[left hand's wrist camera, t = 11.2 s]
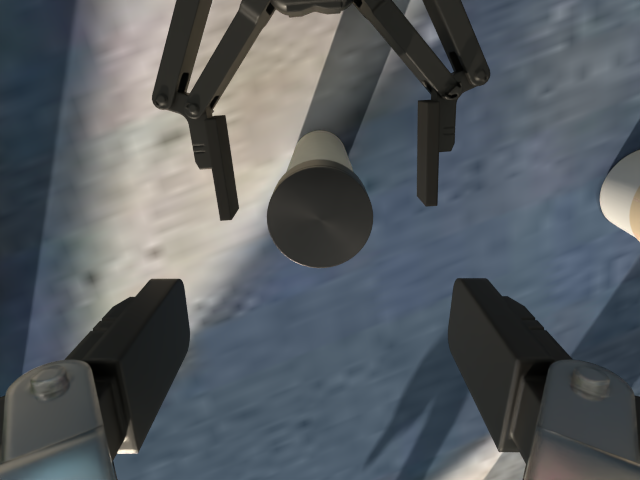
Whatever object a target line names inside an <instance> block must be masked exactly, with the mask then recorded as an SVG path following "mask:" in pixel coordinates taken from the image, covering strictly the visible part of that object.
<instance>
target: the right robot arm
mask: <svg viewBox="0 0 640 480" xmlns="http://www.w3.org/2000/svg"><path fill="white" fill-rule="evenodd" d="M423 2H424V5H425V7H426V9H427V11H428V14H429V16H430V18H431V20H432V23H433V25H434V27H435V29H436V32H437V34H438V36H439V38H440V41H441V43H442V45H443V47H444V50H445V52H446V54H447V56H448V59H449V61H450V63H451V65H452V68H453V70H454V72H453V73H450V72H449V71H448V69H447V68H446V67H445V66H444V64H443V63H442V62H441V61H440V59H439V58H438V57H437V56H436V55H435V53H434V52H433V51H432V50H431V48H430V47H429V46H428V45H427V43H426V42H425V41H424V40H423V38H422V37H421V36H420V35H419V33H418V32H417V31H416V30H415V28H414V27H413V26H412V25H411V24H410V22H409V21H408V20H407V19H406V17H405V16H404V15H403V14H402V12H401V11H400V10H399V9H398V7H397V6H396V5H395V4H394V2H393V1H392V0H242V2H241V4H240V8H239V10H238V12H237V14H236V16H235V17H234V19H233V21H232V23H231V24H230V26H229V28H228V29H227V31H226V33H225V35H224V36H223V38H222V40H221V41H220V43H219V45H218V46H217V48H216V50H215V52H214V53H213V55H212V57H211V58H210V60H209V62H208V64H207V65H206V67H205V69H204V70H203V72H202V74H201V76H200V77H199V79H198V81H197V82H196V84H195V86H194V87H193V89H192V91H191V93H187V88H188V85H189V81H190V78H191V74H192V71H193V67H194V63H195V60H196V56H197V53H198V49H199V46H200V42H201V39H202V35H203V32H204V28H205V24H206V21H207V17H208V14H209V10H210V7H211V3H212V0H176V4H175V8H174V12H173V16H172V20H171V24H170V28H169V32H168V36H167V40H166V44H165V47H164V51H163V55H162V59H161V63H160V67H159V71H158V75H157V79H156V83H155V87H154V91H153V95H152V101H153V104H154V105H155V106H156V107H157V108H159V109H161V110H169V111H172V112H176V113H179V114H181V115H183V116H184V117H185V118H186V119H187V121H188V124H189V128H190V134H191V140H192V145H193V151H194V156H195V162H196V164H197V165H198V167H199V169H212V173H213V179H214V185H215V191H216V197H217V203H218V209H219V215H220V221H223V220H232V218H233V217H234V215H235V214H236V212H237V211H238V209H239V205H238V198H237V192H236V185H235V178H234V171H233V164H232V157H231V151H230V144H229V137H228V130H227V123H226V116H225V115H221V116H213V117H212V113H213V112H214V111H213V109H214V107H215V105H216V104H217V102H218V100H219V99H220V97H221V95H222V94H223V92H224V91H225V89H226V87H227V86H228V84H229V82H230V81H231V79H232V77H233V76H234V74H235V73H236V71H237V69H238V68H239V66H240V64H241V63H242V61H243V60H244V58H245V56H246V55H247V53H248V51H249V50H250V48H251V46H252V45H253V43H254V42H255V40H256V38H257V37H258V35H259V33H260V32H261V30H262V29H263V28H264V27H265V25H266V24H267V23H268V21H269V20H270V18H271V16H272V15H273V13H274V11H275V10H276V9H277V10H278V11H279V12H281V13H282V14H285V15H289V17H300V16H304V15H307V14H309V13H312V12H319V13H324V14H337V13H340V12H341V11H343V10H345V9H346V8H348V7H349V6H350V5H351V4H352V3H353V4H354V5H355V6H356V8H357V9H358V10H359V11H360V12H361V14H362V15H363V16H364V17H365V18H367V19H368V20H369V21H370V22H371V23H372V25H373V26H374V27H375V28H376V29H377V31H378V32H379V33H380V34H381V35H382V37H383V38H384V39H385V40H386V41H387V43H388V44H389V45H390V46H391V47H392V49H393V50H394V51H395V52H396V53H397V55H398V56H399V57H400V58H401V59H402V60H403V62H404V63H405V64H406V65H407V66H408V68H409V69H410V70H411V71H412V72H413V74H414V75H415V76H416V77H417V78H418V80H419V81H420V82H421V83H422V84H423V86H424V87H425V88H426V89H427V90H428V92H429V93H430V94H431V100H420V101H418V145H417V197H418V198H419V199H420V200H421V201H422V202H423V204H424V205H425V206H437V201H438V166H439V152H447V151H451V150H452V148H453V145H454V143H455V119H456V102H457V99H458V98H459V97H460V96H461V94H462V93H464V92H465V91H467V90H470V89H472V88H474V87H476V86H481V85H484V84H485V83H486V82H487V81H488V80H489V78H490V69H489V67H488V65H487V62H486V60H485V57H484V55H483V53H482V50H481V48H480V45H479V43H478V41H477V38H476V36H475V33H474V31H473V29H472V26H471V24H470V21H469V19H468V16H467V14H466V12H465V9H464V7H463V4H462V2H461V0H423Z"/></svg>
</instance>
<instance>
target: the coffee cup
mask: <svg viewBox="0 0 640 480" xmlns="http://www.w3.org/2000/svg"><path fill="white" fill-rule="evenodd" d="M600 205H601V209H602V212H603V214H604V215H605V217H606V218H607V219H608V220H609V221H610V222H612V223H613V224H615V225H616V226H618V227H620V228H621V229H623V230H624V231H626V232H628V233H629V234H631V235H632V236H634V237H636V238H637V239H638V241H639V242H640V150H638V151H635V152H633V153H631V154H629V155H628V156H626V157H625V158H623V159H622V160H621V161H619V162H618V163H617V164H616V165H615V166H614V167H613V168H612V170H611V171H610V172H609V174H608V175H607V177H606V179H605V181H604V183H603V185H602V189H601V193H600Z"/></svg>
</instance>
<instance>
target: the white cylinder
mask: <svg viewBox="0 0 640 480" xmlns="http://www.w3.org/2000/svg"><path fill="white" fill-rule="evenodd" d="M316 159H324V160H331V161H335V162H338V163H340V164H342V165H344V166H346V167H348V168H349V169H350V170H351V171H353V169H352V166H351V164H350V161H349V158H348V155H347V153H346V150H345V147H344V145H343V143H342V142H341V140H340V139H339V138H338V137H337V136H335V135H334V134H332V133H330V132H327V131H322V130H318V131H313V132H310V133H308V134H306V135H305V136H303V137H302V138H301V139H300V140H299V142H298V143H297V145H296V147H295V150H294V153H293V156H292V158H291V161H290V164H289V166H288V169H287V171H289V170H290V169H291V168H293V167H294V166H296V165H298V164H300V163H302V162H305V161H309V160H316Z"/></svg>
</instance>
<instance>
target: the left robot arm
mask: <svg viewBox="0 0 640 480" xmlns="http://www.w3.org/2000/svg"><path fill="white" fill-rule="evenodd" d="M189 341H190V328H189V320H188V312H187V305H186V297H185V289H184V284H183V282H182V280H181V279H151V280H149V282H148V283H147V284H146V285H145V286H144V287H143V289H142V290H141V291H140V292H139V293H138V294H137V296H136V297H129V298H127V299H126V300H124V301H122V302H120V303H119V304H117V305H115V306H114V307H112V308H111V310H110V311H109V312H108V313H107V314H106V315H105V316H104V317H103V318H102V321H100V322H99V323H98V324H97V325H96V326H95V327H94V328H93V331H90V332H89V334H88V335H87V336H86V337H85V338H84V339H83V340H82V341H81V342H80V343H79V344H78V346H77V347H76V348H75V349H74V350H73V351H72V352H71V353H70V354H69V355H68V356H67V358H66V359H65V360H60V361H55V362H51V363H47V364H44V365H42V366H39V367H37V368H35V369H33V370H31V371H29V372H27V373H25V374H24V375H22V376H21V377H19V378H18V379H17V380H16V381H15V382H14V383H12V385H11V386H10V387H9V388H8V390H7V392H6V396H3V397H0V480H117V476H116V471H115V467H114V463H113V460H114V458H115V456H116V454H117V453H138V452H139V450H140V448H141V446H142V444H143V442H144V440H145V438H146V436H147V434H148V432H149V429H150V427H151V425H152V423H153V421H154V419H155V417H156V415H157V413H158V411H159V409H160V407H161V405H162V403H163V401H164V399H165V397H166V395H167V393H168V391H169V389H170V387H171V384H172V382H173V380H174V378H175V376H176V374H177V372H178V370H179V368H180V366H181V364H182V362H183V360H184V358H185V356H186V354H187V351H188V347H189ZM448 342H449V347H450V351H451V354H452V356H453V358H454V360H455V362H456V364H457V366H458V368H459V370H460V372H461V374H462V376H463V378H464V381H465V383H466V385H467V387H468V389H469V391H470V393H471V395H472V397H473V399H474V401H475V403H476V405H477V407H478V410H479V412H480V414H481V416H482V418H483V420H484V422H485V424H486V426H487V428H488V430H489V432H490V434H491V436H492V439H493V441H494V443H495V445H496V447H497V449H498V451H499V452H520V454H521V455H522V457H523V459H524V461H525V463H526V467H525V471H524V476H523V480H640V397H639V396H635V395H634V392H633V390H632V388H631V387H630V386H629V385H628V383H626V382H625V381H624V380H623V379H622V378H621V377H619V376H618V375H616V374H615V373H613V372H611V371H609V370H607V369H605V368H603V367H601V366H598V365H596V364H593V363H589V362H585V361H580V360H573V359H572V358H571V357H570V356H569V355H568V354H567V353H566V352H565V350H564V349H563V348H562V347H561V346H560V345H559V344H558V343H557V342H556V341H555V339H554V338H553V337H552V336H551V335H550V334H549V333H548V332H547V331H546V330H544V327H543V326H542V325H541V324H540V323H539V322H538V321H537V320H535V317H534V316H533V315H532V314H531V313H530V312H529V311H528V310H527V309H526V307H525V306H523V305H521V304H520V303H518V302H516V301H515V300H513V299H511V298H509V297H508V296H501V295H500V293H499V292H498V291H497V290H496V289H495V287H494V286H493V285H492V284H491V283H490V282H489V280H488V279H486V278H458V279H456V281H455V283H454V287H453V294H452V302H451V310H450V318H449V326H448Z"/></svg>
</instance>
